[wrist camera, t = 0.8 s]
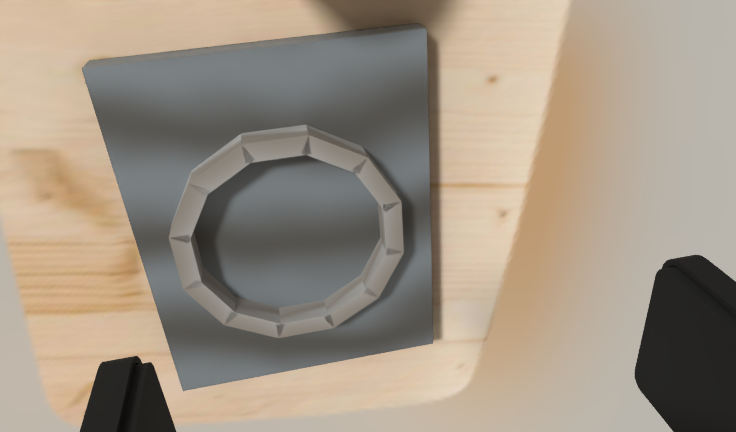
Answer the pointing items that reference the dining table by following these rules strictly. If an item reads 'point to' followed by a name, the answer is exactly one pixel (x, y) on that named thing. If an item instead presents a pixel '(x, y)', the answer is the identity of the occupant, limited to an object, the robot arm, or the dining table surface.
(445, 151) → the dining table surface
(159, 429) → the robot arm
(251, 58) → the ring board
